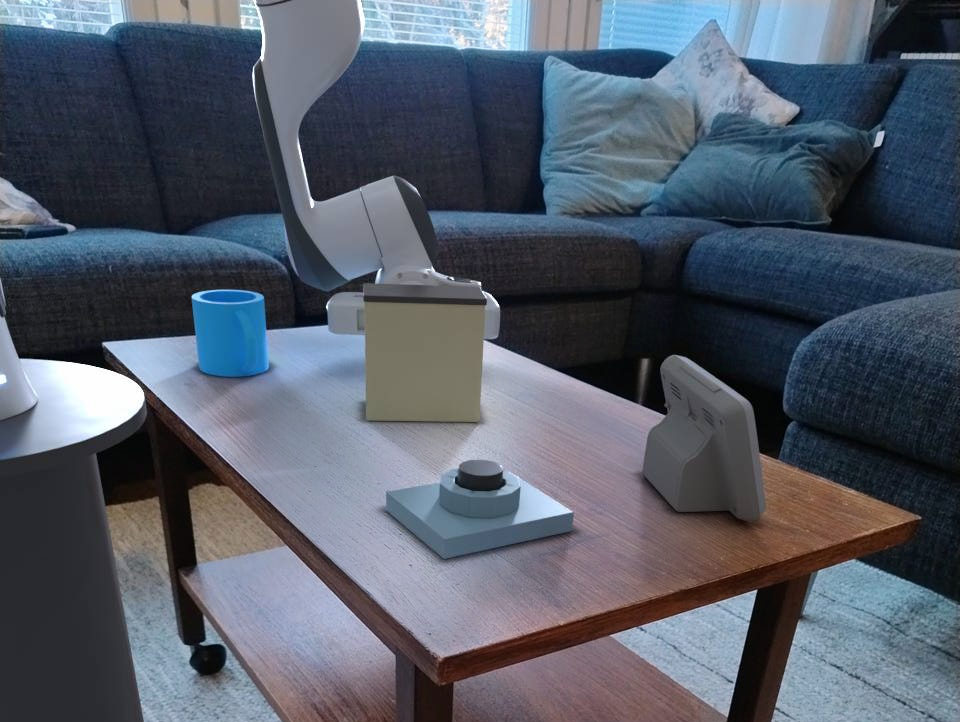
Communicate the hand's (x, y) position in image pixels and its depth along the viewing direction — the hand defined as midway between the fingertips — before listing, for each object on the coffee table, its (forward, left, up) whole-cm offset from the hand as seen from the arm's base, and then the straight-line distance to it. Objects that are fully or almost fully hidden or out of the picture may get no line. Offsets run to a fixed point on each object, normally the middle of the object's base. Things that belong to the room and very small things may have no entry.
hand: (417, 331), depth 101 cm
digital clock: (+10, -37, -7) cm, 39 cm away
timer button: (-12, -34, -4) cm, 36 cm away
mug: (-16, +15, -7) cm, 23 cm away
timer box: (-12, -34, -7) cm, 36 cm away
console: (-3, -7, -7) cm, 10 cm away
